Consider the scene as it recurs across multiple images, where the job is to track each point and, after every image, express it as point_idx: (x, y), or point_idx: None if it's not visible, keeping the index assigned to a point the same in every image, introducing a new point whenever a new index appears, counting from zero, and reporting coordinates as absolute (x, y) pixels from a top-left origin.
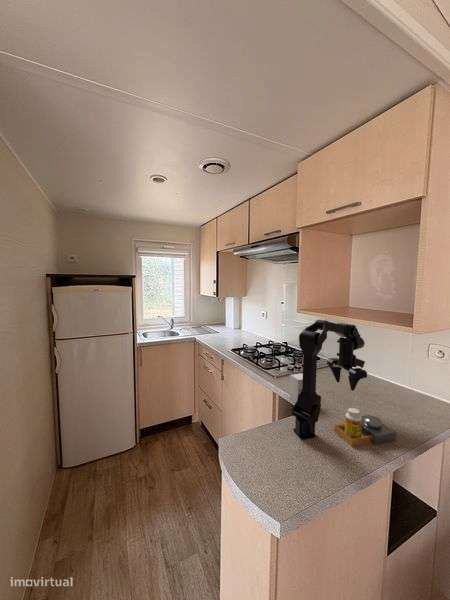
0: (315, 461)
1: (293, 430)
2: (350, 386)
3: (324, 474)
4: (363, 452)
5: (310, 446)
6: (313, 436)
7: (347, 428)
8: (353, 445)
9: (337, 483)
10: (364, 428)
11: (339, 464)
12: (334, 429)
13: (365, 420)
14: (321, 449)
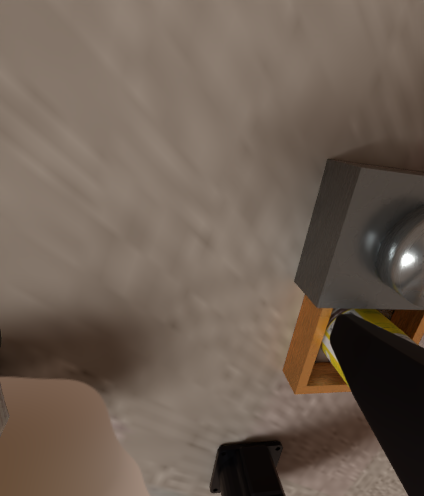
0: (351, 476)
1: (215, 489)
2: (369, 412)
3: (389, 474)
4: None
5: (302, 468)
6: (279, 454)
7: None
8: None
9: None
10: (402, 307)
11: None
12: (288, 377)
13: (421, 306)
14: (329, 448)
